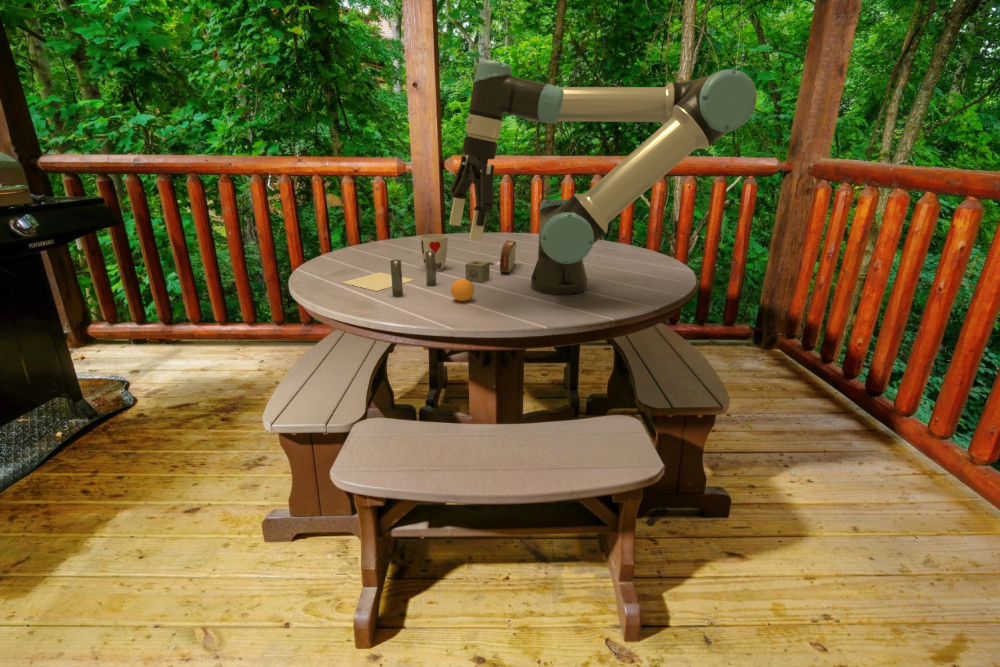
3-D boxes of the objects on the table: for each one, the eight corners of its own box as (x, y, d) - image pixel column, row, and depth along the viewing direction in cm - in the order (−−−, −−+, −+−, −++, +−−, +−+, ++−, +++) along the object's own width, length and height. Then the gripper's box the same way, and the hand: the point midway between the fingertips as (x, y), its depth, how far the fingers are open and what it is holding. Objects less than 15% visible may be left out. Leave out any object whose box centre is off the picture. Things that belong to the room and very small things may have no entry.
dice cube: (473, 277, 151) (473, 260, 150) (489, 279, 149) (489, 262, 148) (465, 281, 147) (465, 264, 145) (481, 283, 145) (481, 266, 143)
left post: (405, 295, 134) (403, 260, 131) (397, 297, 132) (395, 262, 129) (397, 293, 135) (395, 259, 132) (390, 295, 133) (388, 260, 130)
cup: (416, 271, 157) (415, 237, 154) (429, 265, 165) (427, 233, 161) (441, 273, 155) (440, 239, 151) (452, 267, 162) (452, 235, 158)
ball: (478, 300, 130) (478, 278, 128) (464, 305, 126) (463, 283, 124) (461, 296, 133) (460, 275, 131) (446, 301, 129) (446, 279, 127)
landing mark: (414, 280, 148) (414, 279, 147) (376, 291, 137) (376, 290, 137) (379, 272, 155) (379, 272, 155) (341, 283, 144) (341, 282, 144)
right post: (438, 284, 144) (437, 251, 140) (431, 286, 142) (430, 253, 138) (431, 283, 145) (429, 250, 142) (424, 285, 143) (423, 252, 140)
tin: (507, 264, 167) (507, 237, 164) (516, 264, 167) (517, 238, 164) (498, 275, 153) (499, 247, 150) (509, 276, 153) (509, 247, 150)
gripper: (447, 129, 125) (433, 217, 133) (488, 141, 105) (469, 244, 113) (476, 135, 129) (460, 221, 136) (521, 147, 109) (500, 247, 116)
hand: (464, 232), depth 125 cm, fingers open, 13 cm apart
